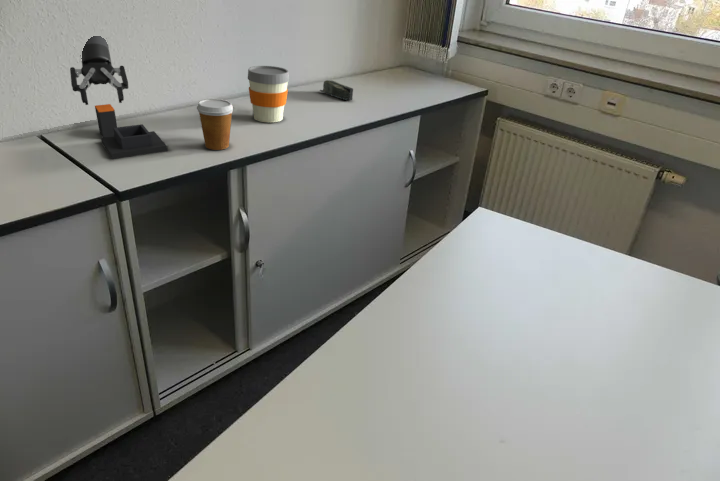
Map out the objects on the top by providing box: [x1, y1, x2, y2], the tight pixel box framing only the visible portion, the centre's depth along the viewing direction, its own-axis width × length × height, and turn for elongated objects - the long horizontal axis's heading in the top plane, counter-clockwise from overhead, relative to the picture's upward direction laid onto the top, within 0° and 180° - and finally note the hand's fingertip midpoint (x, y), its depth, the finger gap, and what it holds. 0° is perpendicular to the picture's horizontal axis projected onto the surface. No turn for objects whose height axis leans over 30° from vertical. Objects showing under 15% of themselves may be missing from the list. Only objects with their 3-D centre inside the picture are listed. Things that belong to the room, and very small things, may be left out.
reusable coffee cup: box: [247, 65, 290, 123], centre depth 169 cm, size 13×13×15 cm
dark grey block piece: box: [319, 79, 354, 102], centre depth 197 cm, size 5×3×15 cm
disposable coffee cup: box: [196, 98, 235, 151], centre depth 147 cm, size 10×10×12 cm
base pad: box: [100, 123, 168, 160], centre depth 144 cm, size 14×12×4 cm
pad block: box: [94, 103, 118, 138], centre depth 149 cm, size 4×5×8 cm
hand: (103, 102), depth 149 cm, fingers open, 8 cm apart
